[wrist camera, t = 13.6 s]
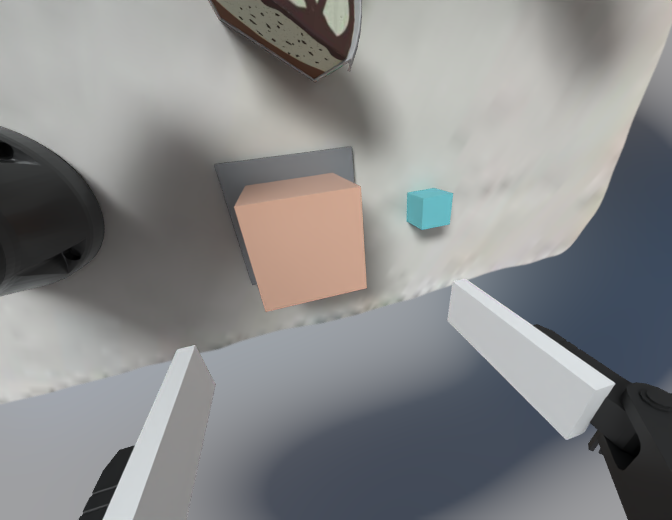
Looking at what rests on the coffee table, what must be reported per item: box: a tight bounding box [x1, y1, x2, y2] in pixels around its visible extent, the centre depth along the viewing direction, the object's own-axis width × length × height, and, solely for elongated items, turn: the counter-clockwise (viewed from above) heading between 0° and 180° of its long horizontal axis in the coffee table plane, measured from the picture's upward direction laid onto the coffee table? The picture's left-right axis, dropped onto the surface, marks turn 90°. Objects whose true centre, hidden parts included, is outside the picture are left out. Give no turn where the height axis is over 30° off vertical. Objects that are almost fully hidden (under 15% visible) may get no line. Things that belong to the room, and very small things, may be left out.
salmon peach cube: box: [234, 173, 367, 312], centre depth 26 cm, size 10×10×10 cm
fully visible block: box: [407, 188, 453, 230], centre depth 32 cm, size 4×4×4 cm
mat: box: [214, 147, 354, 285], centre depth 30 cm, size 15×15×1 cm
